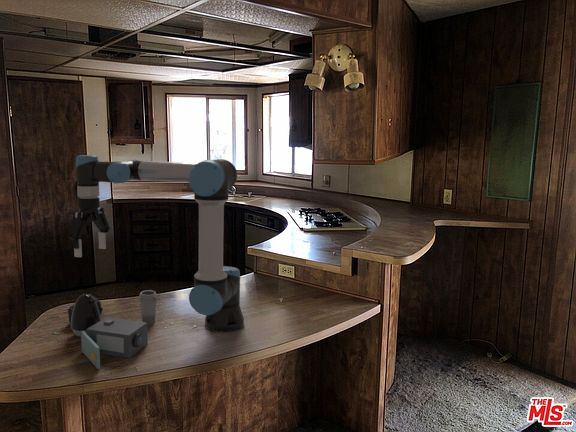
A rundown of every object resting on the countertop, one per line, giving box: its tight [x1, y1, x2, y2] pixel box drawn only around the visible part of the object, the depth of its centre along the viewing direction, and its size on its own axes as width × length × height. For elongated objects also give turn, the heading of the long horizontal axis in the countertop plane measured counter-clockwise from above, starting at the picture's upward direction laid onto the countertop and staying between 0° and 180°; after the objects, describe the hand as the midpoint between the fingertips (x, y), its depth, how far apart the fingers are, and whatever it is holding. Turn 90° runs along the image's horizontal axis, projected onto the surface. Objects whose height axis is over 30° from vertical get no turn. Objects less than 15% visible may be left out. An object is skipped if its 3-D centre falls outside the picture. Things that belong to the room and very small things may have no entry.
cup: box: [138, 289, 158, 325], centre depth 178 cm, size 7×7×12 cm
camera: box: [67, 293, 104, 325], centre depth 178 cm, size 13×10×10 cm
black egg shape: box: [70, 293, 102, 338], centre depth 165 cm, size 10×10×15 cm
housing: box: [86, 316, 149, 359], centre depth 156 cm, size 18×11×9 cm, turn 76°
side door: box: [80, 331, 101, 370], centre depth 146 cm, size 16×2×7 cm, turn 41°
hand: (90, 252), depth 173 cm, fingers open, 13 cm apart
